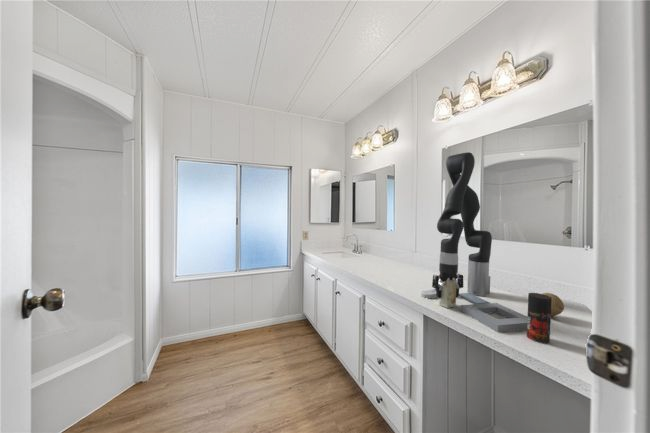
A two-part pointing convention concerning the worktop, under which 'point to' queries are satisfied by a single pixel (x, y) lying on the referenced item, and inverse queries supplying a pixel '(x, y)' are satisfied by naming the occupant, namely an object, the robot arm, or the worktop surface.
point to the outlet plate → (500, 325)
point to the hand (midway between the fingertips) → (447, 297)
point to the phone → (472, 298)
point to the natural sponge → (555, 304)
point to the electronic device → (429, 294)
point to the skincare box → (448, 294)
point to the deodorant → (539, 317)
